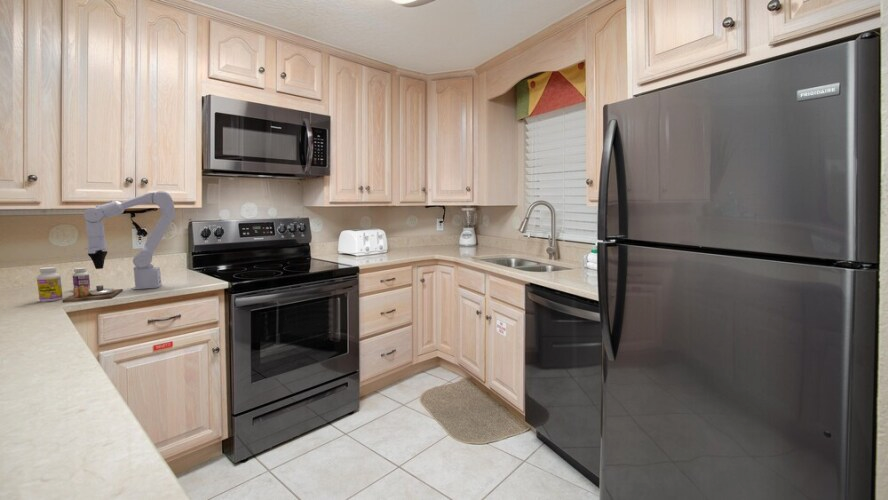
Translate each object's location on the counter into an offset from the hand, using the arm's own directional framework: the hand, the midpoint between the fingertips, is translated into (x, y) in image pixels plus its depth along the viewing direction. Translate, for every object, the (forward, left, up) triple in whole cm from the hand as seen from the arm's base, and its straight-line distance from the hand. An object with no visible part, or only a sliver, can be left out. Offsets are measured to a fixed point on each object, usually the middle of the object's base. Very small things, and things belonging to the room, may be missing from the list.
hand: (99, 268), depth 174 cm
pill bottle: (+9, -8, -10) cm, 16 cm away
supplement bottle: (+13, +11, -10) cm, 20 cm away
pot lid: (-1, +11, -9) cm, 14 cm away
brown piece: (0, +11, -10) cm, 14 cm away
